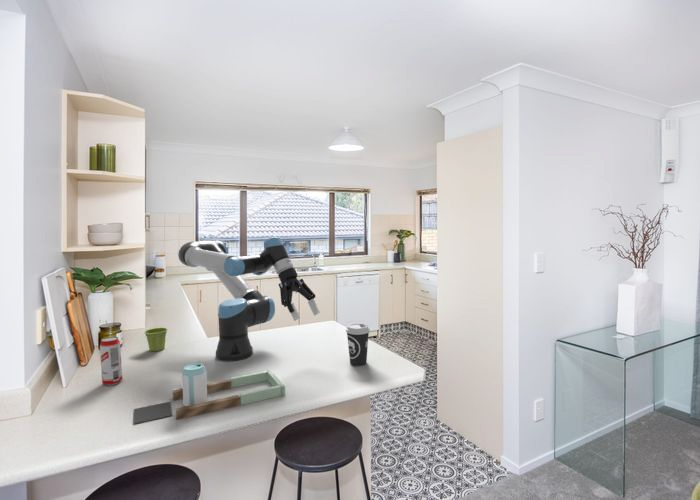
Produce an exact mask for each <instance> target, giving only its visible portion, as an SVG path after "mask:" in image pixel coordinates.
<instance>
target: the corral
mask: <svg viewBox="0 0 700 500" xmlns="http://www.w3.org/2000/svg"><path fill="white" fill-rule="evenodd" d="M229 379H230V381H231V389H232V388H237V387H243V386H246V385H251V384H257V383H260V382H265V381H268V382H269V384H271V386H268V387H265V388H264V387H263V388H260V389H256V390H251V391H247V392H246V391H245V392H242V393H239V394H238V395H239V397H240V406H243V405H247V404H251V403H255V402H260V401H264V400H268V399H269V400H270V399H273V398H276V397H281V396H286V386H285V384H284V383H283V382H282V381H281V380H280V379H279V378H278V376H277V375H276V374H275V373H274V372H273V371H272V369H268V370H263V371H258V372H254V373H253V372H252V373H248V374H243V375H237V376H232V377H231V376H230V377H229Z"/></svg>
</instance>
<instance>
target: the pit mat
mask: <svg viewBox="0 0 700 500" xmlns="http://www.w3.org/2000/svg"><path fill="white" fill-rule="evenodd" d="M172 416H173V410H172V404H171V401H167V402H162V403H155V404H150V405H145V406H142V407H137V408H133V425H137V424H138V425H139V424H143V423H146V422H153V421H156V420H160V419H165V418H170V417H172Z"/></svg>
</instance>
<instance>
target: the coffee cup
mask: <svg viewBox="0 0 700 500" xmlns="http://www.w3.org/2000/svg"><path fill="white" fill-rule="evenodd" d="M370 332H371V330H370V327H369V326H368V324H366V323H361V322H360V323H359V322H358V323H357V322H356V323H350V324H348V325H347V327H346V329H345V333H346V337H347V346H348V354H349V355H348V356H349V357H348V358H349V364H350V365H352V366H355V367H361V366H365V365H367V361H368V360H367V359H368V347H369V336H370V335H369V333H370Z"/></svg>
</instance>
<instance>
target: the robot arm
mask: <svg viewBox="0 0 700 500" xmlns="http://www.w3.org/2000/svg"><path fill="white" fill-rule="evenodd" d="M263 247H264V250H263V251H261V253H259V254H255V255H254V254H252V255H245V256H243V255H241V256H239V255H234V254H229V251H228V250H227V246H226V245H225V243H223V242H222V241H221V240H214V239H210V240H203V241H202V240H201V241H190V242H186V243H185V244H183V245H182V246H180V248H179V250H178V253H177V254H178V259H179V262H180V263H181V264H183V265H185V266H187V267H192V268H196V267H201V268H205V269H206V271H209V272H213V274H214V275H215V276H216V278H218V280H219V281H220V282H221V283H222V285H224V287H225V288H226V289H227V291H228V292H229V293H230V294H231V296H232V297H233V298H231V299H227V300H224V301H222V302H221V303H220V304H219V306H218V308H217V311H218V312H217V317H218V334H219V337H218V338H219V340H218V343H217V346H216V350H215V359H216V360H218V361H221V362H235V361H236V362H237V361H242V360H245V359H248V358H251V356H252V355H253V352H254V349H253V348H254V347H252V345H251V342H250V339H249V329H248V328H251V327H254V326H257V325H261V324H265V323H267V322H270V321H271V320H272V319H273V318H274V316H275V313H276V306H275V301H274V299H273V298H272V297H271V296H269V295H262V294H261V292H260V291H259V290H256V289H253V288H252V287H251V286H250V285H249V283H247V281H246V280H245V279H244V278H243V275H247V274H253V275H256V276H262V275H263V274H265V273H266V272H268V271H269V270H270V269H271V268H272V267H273V268H274V270H275V274H276V275H277V276H278V279H279V281H280V283H278V286H279V292H280V302H281V305H282V306H283V307H284V308H286V307H287V309H288V312H289V314H291V317H292V319H293V321H294V322H296V321H298V320H299V319H300V318H301V316H300V313H298V310H297V308H296V306H295V303H293V302H292V300H293V293H295V292H297V293H299V294H300V295H301V296H302V297H304V298H305V299H306V300H307V303H308V306H309V307H310V310H311V312H312V314H313V315H314V316H316V315H319V313H320V310H319V307H318V305H317V304H316V302H315V298H316V294H315V293H314V292H313V291H312V289H311V288H310V287H309V286H308V285H307V284H306V282H305V281H304V279H303V278H300V279H298V272H297V270H296V268H295V267H294V265H293V263H292V261H291V259H290V258H291V257H290V256H289V254H288V252H287V250H286V248H285V244H284V243H283V241H282V240H281V238H280V237H278V236H272V237H270V238H268V239H266V240H265V241H264V242H263Z"/></svg>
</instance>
